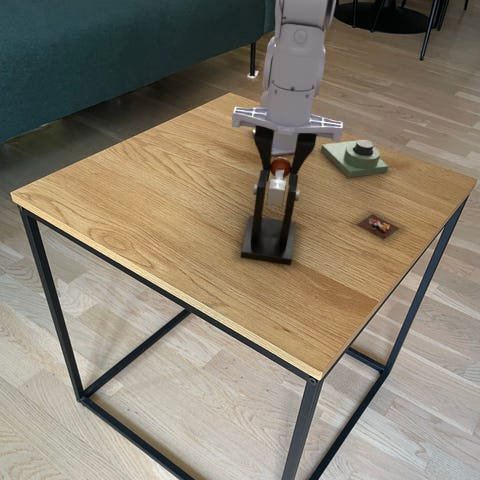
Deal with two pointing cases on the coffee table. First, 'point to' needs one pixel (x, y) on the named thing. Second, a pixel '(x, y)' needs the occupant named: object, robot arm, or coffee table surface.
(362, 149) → the button
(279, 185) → the lever
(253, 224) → the bracket
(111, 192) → the coffee table surface
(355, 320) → the coffee table surface
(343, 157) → the control block
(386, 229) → the diorama
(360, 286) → the coffee table surface
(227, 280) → the coffee table surface
